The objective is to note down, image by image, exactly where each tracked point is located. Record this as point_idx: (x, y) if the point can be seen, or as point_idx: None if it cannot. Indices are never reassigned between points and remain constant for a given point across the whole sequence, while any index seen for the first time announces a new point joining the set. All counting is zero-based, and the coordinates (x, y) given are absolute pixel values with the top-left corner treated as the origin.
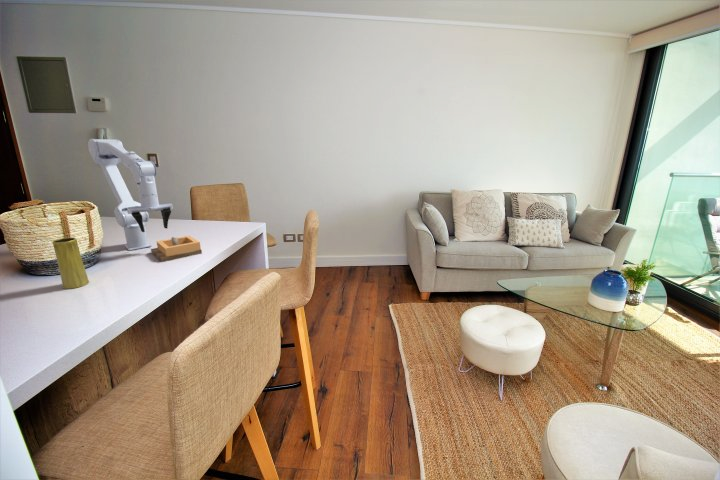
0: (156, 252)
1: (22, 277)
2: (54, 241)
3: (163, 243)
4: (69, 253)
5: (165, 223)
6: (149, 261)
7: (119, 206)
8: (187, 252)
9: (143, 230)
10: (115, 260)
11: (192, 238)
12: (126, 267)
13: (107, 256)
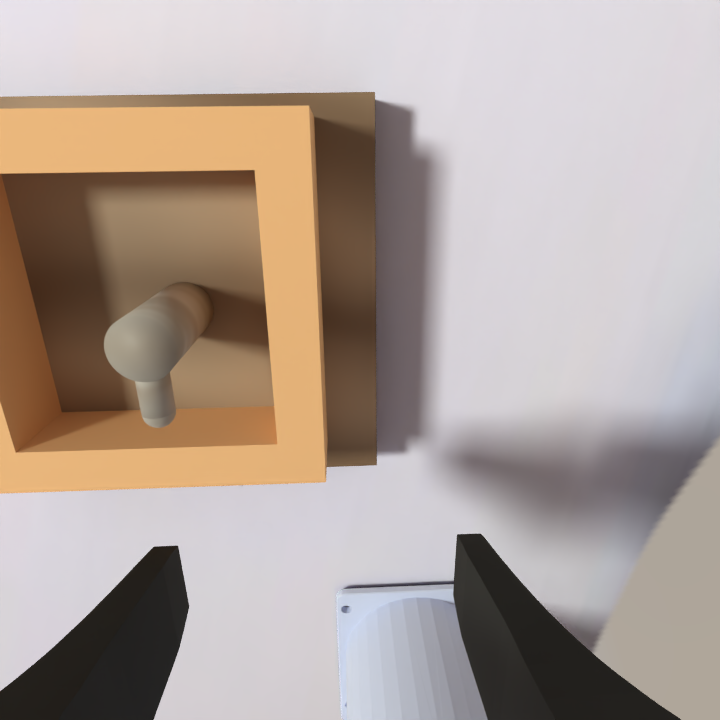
0: (363, 328)
1: None
2: None
3: (281, 357)
4: None
5: (136, 599)
6: (452, 205)
7: None
8: (92, 100)
9: (476, 545)
10: (633, 418)
11: None
12: (645, 165)
13: (634, 542)
